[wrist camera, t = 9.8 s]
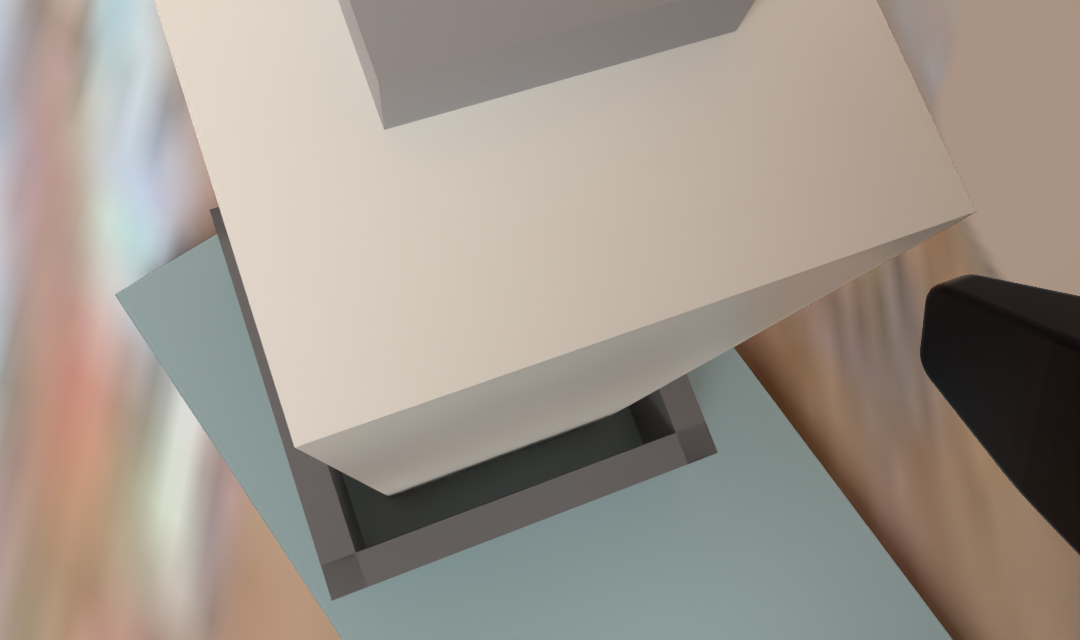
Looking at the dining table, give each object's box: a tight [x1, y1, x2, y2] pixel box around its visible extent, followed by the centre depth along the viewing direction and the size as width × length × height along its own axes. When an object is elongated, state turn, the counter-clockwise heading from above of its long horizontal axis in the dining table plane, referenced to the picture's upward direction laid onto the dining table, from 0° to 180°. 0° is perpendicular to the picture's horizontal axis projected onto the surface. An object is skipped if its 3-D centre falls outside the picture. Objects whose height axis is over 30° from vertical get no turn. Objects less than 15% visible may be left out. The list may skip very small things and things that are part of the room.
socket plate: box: [115, 207, 953, 640], centre depth 17 cm, size 20×10×4 cm, turn 36°
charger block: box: [154, 0, 976, 498], centre depth 12 cm, size 4×4×14 cm
